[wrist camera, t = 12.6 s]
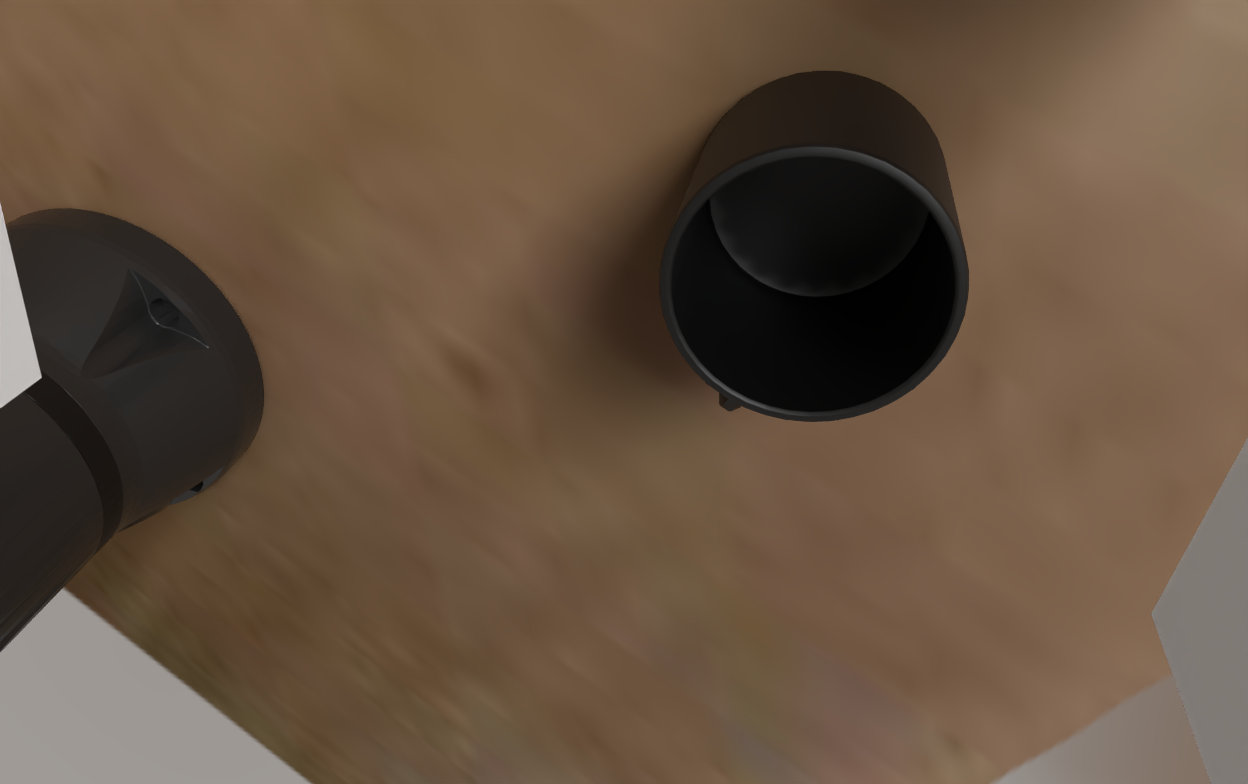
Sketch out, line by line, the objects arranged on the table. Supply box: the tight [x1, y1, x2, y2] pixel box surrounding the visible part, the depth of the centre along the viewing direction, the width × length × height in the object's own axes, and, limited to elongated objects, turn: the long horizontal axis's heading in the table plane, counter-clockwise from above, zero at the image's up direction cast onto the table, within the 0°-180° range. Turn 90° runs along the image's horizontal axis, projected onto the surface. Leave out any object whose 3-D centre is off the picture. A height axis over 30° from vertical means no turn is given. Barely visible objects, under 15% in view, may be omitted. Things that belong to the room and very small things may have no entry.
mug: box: [659, 71, 969, 422], centre depth 35 cm, size 9×12×9 cm
